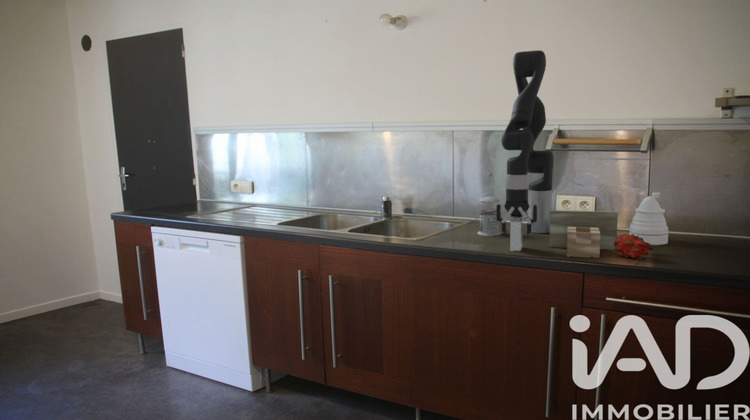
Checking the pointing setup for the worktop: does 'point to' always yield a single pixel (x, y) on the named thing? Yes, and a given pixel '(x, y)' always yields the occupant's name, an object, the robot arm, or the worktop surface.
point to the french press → (488, 216)
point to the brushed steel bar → (516, 233)
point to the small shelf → (583, 232)
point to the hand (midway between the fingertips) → (516, 233)
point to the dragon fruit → (632, 246)
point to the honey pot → (650, 222)
